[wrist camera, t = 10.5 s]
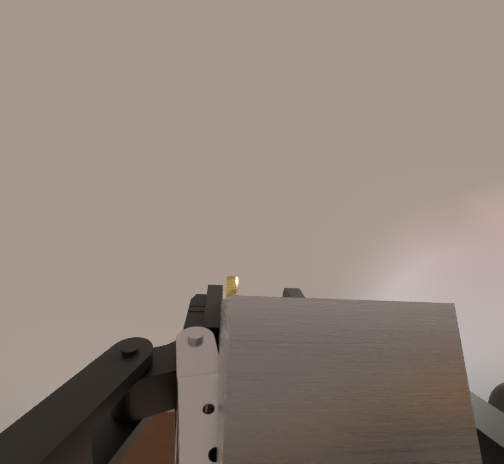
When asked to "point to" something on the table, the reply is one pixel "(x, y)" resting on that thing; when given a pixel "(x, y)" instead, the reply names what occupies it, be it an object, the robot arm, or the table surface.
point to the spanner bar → (341, 382)
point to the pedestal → (154, 442)
